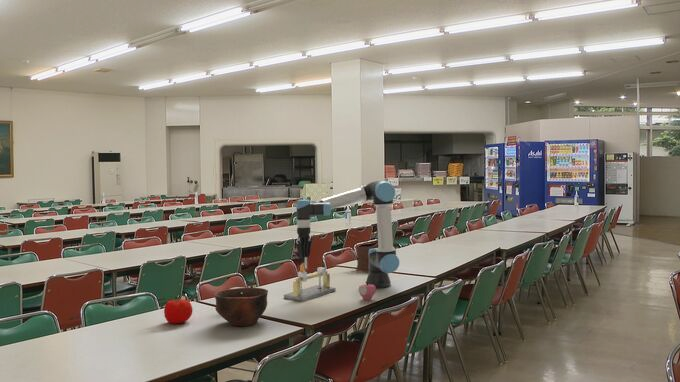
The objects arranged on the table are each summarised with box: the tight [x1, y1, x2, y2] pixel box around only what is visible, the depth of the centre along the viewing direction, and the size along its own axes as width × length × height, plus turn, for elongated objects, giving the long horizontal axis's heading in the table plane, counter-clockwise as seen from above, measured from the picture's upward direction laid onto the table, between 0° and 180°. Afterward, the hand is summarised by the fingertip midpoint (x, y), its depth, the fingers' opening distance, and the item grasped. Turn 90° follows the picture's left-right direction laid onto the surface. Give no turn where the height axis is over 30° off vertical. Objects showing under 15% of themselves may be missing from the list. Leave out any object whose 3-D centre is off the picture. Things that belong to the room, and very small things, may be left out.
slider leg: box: [297, 264, 308, 293], centre depth 308 cm, size 4×3×16 cm
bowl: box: [213, 287, 269, 327], centre depth 260 cm, size 25×25×15 cm
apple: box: [358, 280, 377, 301], centre depth 301 cm, size 10×9×10 cm
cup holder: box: [346, 234, 379, 273], centre depth 392 cm, size 18×24×25 cm
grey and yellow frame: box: [283, 266, 337, 302], centre depth 316 cm, size 14×30×14 cm, turn 144°
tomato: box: [163, 297, 194, 325], centre depth 263 cm, size 12×13×12 cm
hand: (304, 268), depth 310 cm, fingers closed
